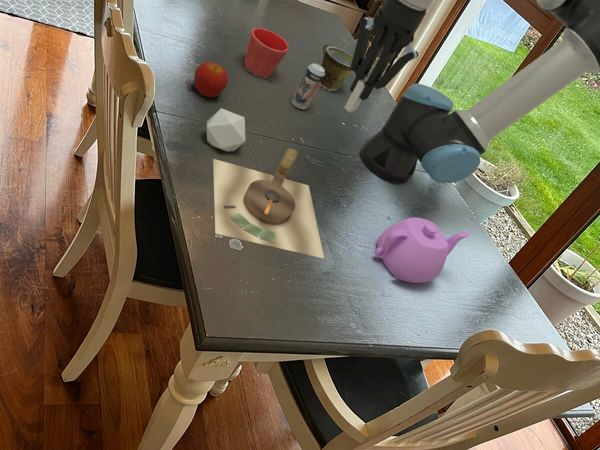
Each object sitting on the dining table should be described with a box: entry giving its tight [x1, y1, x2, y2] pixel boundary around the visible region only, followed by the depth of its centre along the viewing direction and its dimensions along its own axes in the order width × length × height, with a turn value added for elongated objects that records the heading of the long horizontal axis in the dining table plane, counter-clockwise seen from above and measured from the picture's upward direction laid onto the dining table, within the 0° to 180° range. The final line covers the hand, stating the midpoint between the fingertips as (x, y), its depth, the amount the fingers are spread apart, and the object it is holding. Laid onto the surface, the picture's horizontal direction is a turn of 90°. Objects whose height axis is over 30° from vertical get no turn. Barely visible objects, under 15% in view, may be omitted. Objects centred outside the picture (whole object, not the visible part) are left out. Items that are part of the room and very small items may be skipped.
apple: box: [194, 61, 229, 98], centre depth 136 cm, size 8×8×8 cm
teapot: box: [374, 217, 471, 284], centre depth 120 cm, size 20×13×12 cm, turn 110°
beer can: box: [291, 62, 325, 110], centre depth 151 cm, size 5×5×12 cm
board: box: [212, 158, 325, 260], centre depth 115 cm, size 22×22×1 cm
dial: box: [244, 147, 299, 224], centre depth 115 cm, size 18×10×7 cm, turn 170°
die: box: [206, 107, 246, 152], centre depth 123 cm, size 8×9×10 cm
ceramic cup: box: [321, 44, 353, 91], centre depth 169 cm, size 13×10×10 cm
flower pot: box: [243, 27, 290, 78], centre depth 156 cm, size 11×11×10 cm
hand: (350, 108), depth 117 cm, fingers closed
